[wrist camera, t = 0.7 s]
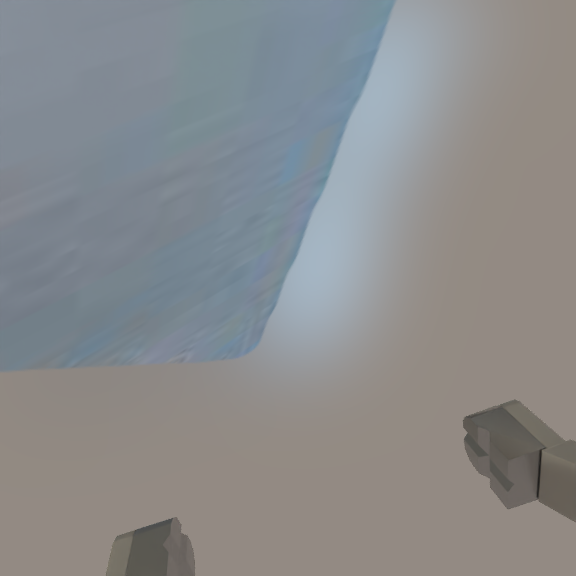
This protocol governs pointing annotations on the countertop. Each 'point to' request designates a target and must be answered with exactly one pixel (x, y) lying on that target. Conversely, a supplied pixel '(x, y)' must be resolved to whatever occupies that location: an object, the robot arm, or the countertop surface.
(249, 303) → the countertop surface
